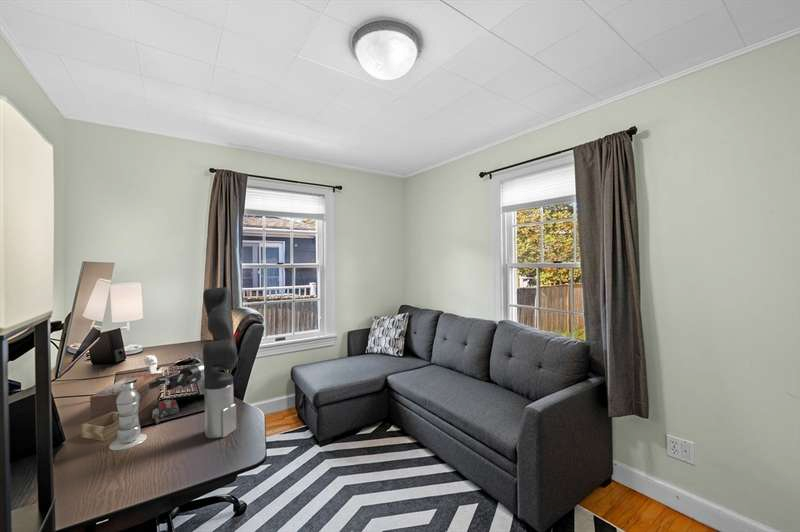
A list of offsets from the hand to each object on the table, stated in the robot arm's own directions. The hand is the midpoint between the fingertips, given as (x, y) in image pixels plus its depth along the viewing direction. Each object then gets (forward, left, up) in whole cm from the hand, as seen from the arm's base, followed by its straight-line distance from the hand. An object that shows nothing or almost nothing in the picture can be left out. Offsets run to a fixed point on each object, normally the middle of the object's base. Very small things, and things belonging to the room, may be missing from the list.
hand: (158, 386), depth 125 cm
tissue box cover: (+30, -11, -15) cm, 36 cm away
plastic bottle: (-1, +11, -15) cm, 19 cm away
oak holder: (+14, +8, -15) cm, 22 cm away
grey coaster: (-1, +12, -15) cm, 19 cm away
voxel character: (+43, -31, -15) cm, 56 cm away
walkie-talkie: (+7, -9, -16) cm, 19 cm away
